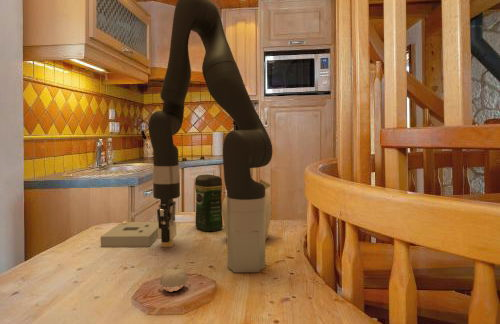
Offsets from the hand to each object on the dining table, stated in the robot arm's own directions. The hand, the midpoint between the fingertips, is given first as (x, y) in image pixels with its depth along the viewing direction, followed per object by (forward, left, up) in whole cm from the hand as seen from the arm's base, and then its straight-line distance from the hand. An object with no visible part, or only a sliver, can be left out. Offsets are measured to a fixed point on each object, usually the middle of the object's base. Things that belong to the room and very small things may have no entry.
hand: (167, 239), depth 113 cm
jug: (+7, -23, -2) cm, 24 cm away
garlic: (-32, -8, -2) cm, 33 cm away
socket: (+8, +12, -2) cm, 15 cm away
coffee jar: (+20, -10, -2) cm, 22 cm away
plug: (0, 0, -2) cm, 2 cm away
